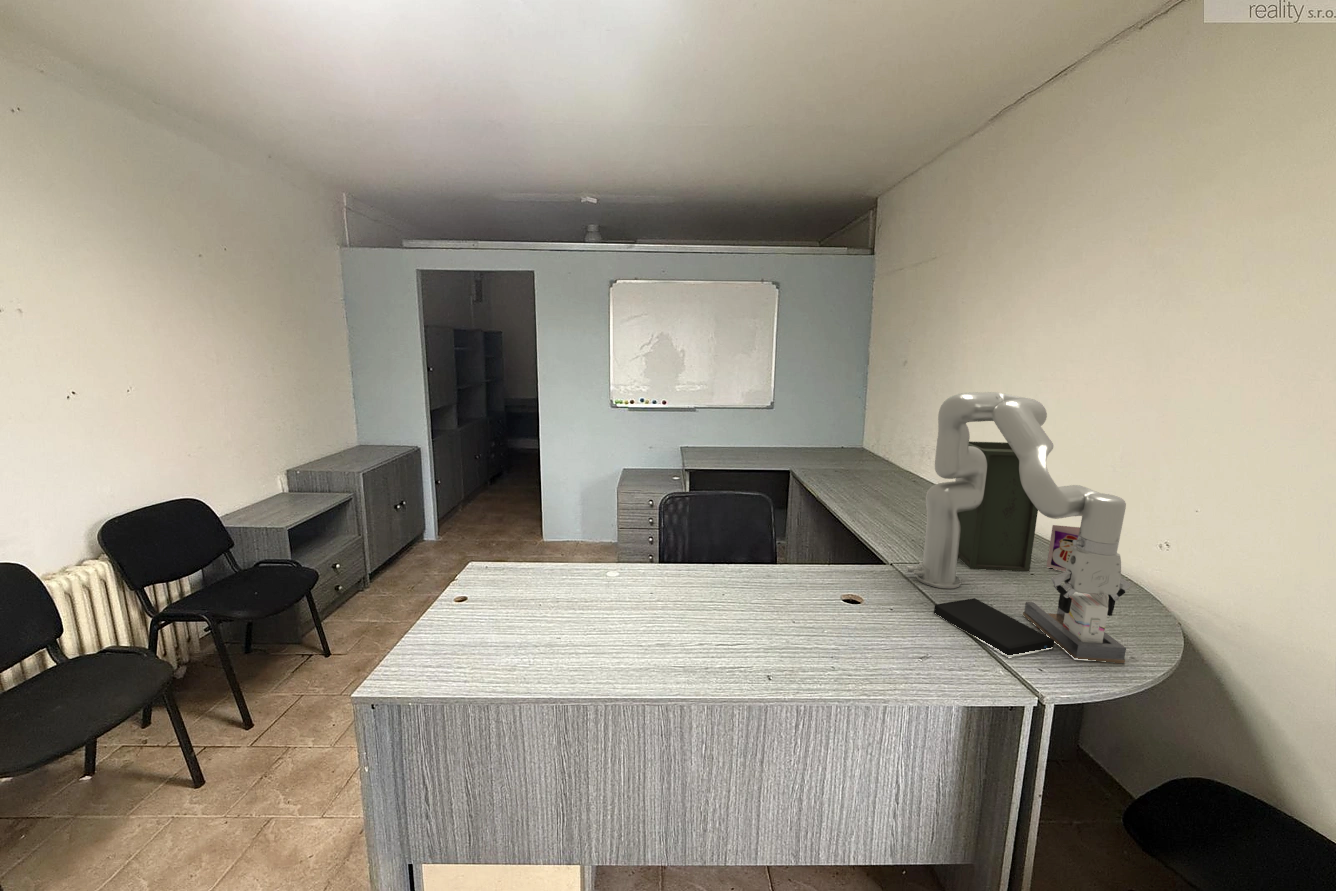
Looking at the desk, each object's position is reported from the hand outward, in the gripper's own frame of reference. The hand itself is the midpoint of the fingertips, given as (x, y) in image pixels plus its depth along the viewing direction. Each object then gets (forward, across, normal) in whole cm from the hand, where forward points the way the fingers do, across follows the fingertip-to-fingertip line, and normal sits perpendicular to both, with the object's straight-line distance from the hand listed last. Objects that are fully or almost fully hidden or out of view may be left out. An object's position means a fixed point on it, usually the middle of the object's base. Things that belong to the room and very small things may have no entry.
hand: (1084, 611), depth 132 cm
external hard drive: (+10, -18, +6) cm, 22 cm away
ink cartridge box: (+8, 0, 0) cm, 8 cm away
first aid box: (+10, +4, +56) cm, 57 cm away
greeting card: (+10, +27, +49) cm, 57 cm away
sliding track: (+9, 0, +4) cm, 10 cm away
